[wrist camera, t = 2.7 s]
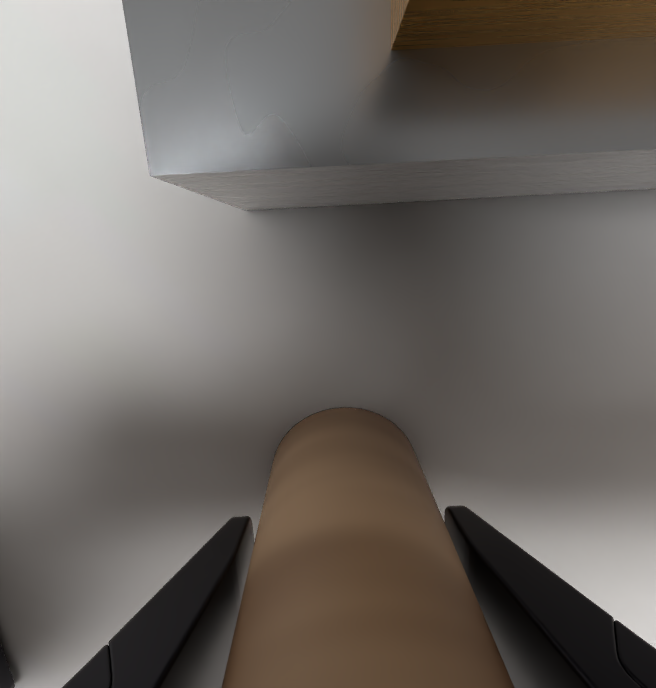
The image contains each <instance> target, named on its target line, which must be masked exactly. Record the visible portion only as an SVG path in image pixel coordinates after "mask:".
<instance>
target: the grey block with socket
mask: <svg viewBox="0 0 656 688" xmlns="http://www.w3.org/2000/svg"><path fill="white" fill-rule="evenodd" d="M122 3H123V9H124V15H125V22H126V28H127V34H128V41H129V47H130V53H131V60H132V66H133V72H134V78H135V85H136V91H137V97H138V104H139V110H140V116H141V123H142V129H143V135H144V142H145V148H146V154H147V161H148V167H149V173H150V176H152V177H154V178H157V179H160V180H163V181H165V182H168V183H171V184H174V185H176V186H179V187H182V188H185V189H188V190H190V191H193V192H196V193H199V194H201V195H204V196H207V197H210V198H212V199H215V200H218V201H221V202H223V203H226V204H229V205H232V206H234V207H237V208H240V209H243V210H262V209H281V208H300V207H319V206H338V205H357V204H376V203H395V202H415V201H434V200H453V199H472V198H491V197H510V196H529V195H548V194H567V193H586V192H605V191H624V190H644V189H656V0H122Z"/></svg>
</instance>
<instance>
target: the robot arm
mask: <svg viewBox="0 0 656 688" xmlns="http://www.w3.org/2000/svg"><path fill="white" fill-rule="evenodd" d="M444 523H445V525H446V528H447V530H448V532H449V535H450V537H451V539H452V542H453V544H454V546H455V549H456V551H457V554H458V556H459V558H460V561H461V563H462V565H463V568H464V570H465V572H466V575H467V577H468V579H469V582H470V584H471V586H472V589H473V591H474V594H475V596H476V598H477V601H478V603H479V605H480V608H481V610H482V612H483V615H484V617H485V619H486V622H487V624H488V626H489V629H490V631H491V634H492V636H493V638H494V641H495V643H496V645H497V648H498V650H499V652H500V655H501V657H502V659H503V662H504V664H505V666H506V669H507V671H508V674H509V676H510V678H511V681H512V683H513V685H514V688H656V649H655V648H654V647H653V646H651V645H650V644H649V643H647V642H646V641H644V640H643V639H642V638H640V637H639V636H638V635H636V634H635V633H634V632H632V631H631V630H630V629H628V628H627V627H626V626H624V625H623V624H622V623H620V622H619V621H617V620H615V621H614V619H613V617H612V616H611V615H609V614H608V613H607V612H605V611H604V610H603V609H601V608H600V607H599V606H597V605H596V604H595V603H593V602H592V601H591V600H589V599H588V598H587V597H585V596H584V595H583V594H581V593H580V592H579V591H577V590H576V589H575V588H573V587H572V586H571V585H569V584H568V583H567V582H565V581H564V580H563V579H561V578H560V577H559V576H557V575H556V574H555V573H553V572H552V571H551V570H549V569H548V568H547V567H545V566H544V565H543V564H541V563H540V562H539V561H537V560H536V559H535V558H533V557H532V556H531V555H529V554H528V553H527V552H525V551H524V550H523V549H521V548H520V547H519V546H517V545H516V544H515V543H513V542H512V541H511V540H509V539H508V538H507V537H505V536H504V535H503V534H502V533H500V532H499V531H498V530H496V529H495V528H494V527H492V526H491V525H490V524H488V523H487V522H486V521H484V520H483V519H482V518H480V517H479V516H478V515H476V514H475V513H474V512H472V511H471V510H470V509H468V508H467V507H465V506H448V507H447V508H446V510H445V522H444ZM253 547H254V535H253V527H252V520H251V518H250V517H249V516H242V517H233V518H231V519H230V520H229V521H228V522H227V523H226V524H225V525H224V526H223V527H222V528H221V529H220V530H219V531H218V532H217V533H216V534H215V535H214V536H213V537H212V538H211V539H210V540H209V541H208V542H207V543H206V544H205V545H204V546H203V547H202V548H201V549H200V550H199V551H198V552H197V553H196V554H195V555H194V556H193V557H192V558H191V559H190V560H189V561H188V562H187V563H186V564H185V565H184V566H183V567H182V568H181V569H180V570H179V571H178V572H177V573H176V574H175V575H174V576H173V577H172V578H171V579H170V580H169V581H168V582H167V583H166V584H165V585H164V586H163V587H162V588H161V589H160V590H159V591H158V592H157V594H156V595H155V596H154V597H153V598H152V599H151V600H150V601H149V602H148V603H147V604H146V605H145V606H144V607H143V608H142V609H141V610H140V611H139V612H138V613H137V614H136V615H135V616H134V617H133V618H132V619H131V620H130V621H129V622H128V623H127V624H126V625H125V626H124V627H123V628H122V629H121V630H120V631H119V632H118V633H117V634H116V635H115V636H114V637H113V638H112V639H111V640H110V641H109V646H108V645H105V646H104V647H103V648H102V649H101V650H100V651H99V652H98V653H97V654H96V655H95V656H94V657H93V658H92V659H91V660H90V661H89V662H88V663H87V664H86V665H85V666H84V667H83V668H82V669H81V670H80V671H79V672H78V673H77V674H76V675H75V676H74V677H73V678H72V679H71V680H70V681H68V682H67V683H66V684H65V685H64V686H63V687H62V688H222V683H223V679H224V675H225V670H226V666H227V661H228V657H229V653H230V648H231V644H232V639H233V635H234V631H235V626H236V622H237V618H238V613H239V609H240V604H241V600H242V596H243V591H244V587H245V582H246V578H247V574H248V569H249V565H250V560H251V556H252V552H253ZM14 687H15V685H14V680H13V677H12V674H11V671H10V669H9V666H8V663H7V660H6V657H5V655H4V652H3V649H2V646H1V643H0V688H14Z"/></svg>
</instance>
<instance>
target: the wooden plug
mask: <svg viewBox="0 0 656 688" xmlns="http://www.w3.org/2000/svg"><path fill="white" fill-rule="evenodd" d="M222 688H514V685H513V683H512V681H511V678H510V676H509V674H508V671H507V669H506V666H505V664H504V662H503V659H502V657H501V655H500V652H499V650H498V648H497V645H496V643H495V641H494V638H493V636H492V634H491V631H490V629H489V626H488V624H487V622H486V619H485V617H484V615H483V612H482V610H481V608H480V605H479V603H478V601H477V598H476V596H475V594H474V591H473V589H472V586H471V584H470V582H469V579H468V577H467V575H466V572H465V570H464V568H463V565H462V563H461V561H460V558H459V556H458V554H457V551H456V549H455V546H454V544H453V542H452V539H451V537H450V535H449V532H448V530H447V528H446V525H445V523H444V521H443V518H442V516H441V514H440V511H439V509H438V506H437V504H436V502H435V499H434V497H433V495H432V492H431V490H430V488H429V485H428V483H427V481H426V478H425V476H424V474H423V471H422V469H421V466H420V464H419V462H418V459H417V457H416V455H415V452H414V450H413V448H412V446H411V444H410V442H409V440H408V438H407V437H406V436H405V434H404V433H403V432H402V431H401V430H400V429H399V428H398V427H397V426H396V425H395V424H394V423H392V422H391V421H389V420H388V419H386V418H385V417H383V416H381V415H379V414H376V413H374V412H371V411H367V410H364V409H358V408H333V409H328V410H324V411H321V412H318V413H315V414H313V415H311V416H309V417H307V418H305V419H303V420H302V421H300V422H299V423H298V424H296V425H295V426H294V427H293V428H292V429H291V430H290V431H289V432H288V433H287V434H286V435H285V437H284V438H283V439H282V441H281V443H280V444H279V446H278V448H277V451H276V453H275V456H274V460H273V464H272V468H271V473H270V477H269V481H268V486H267V490H266V495H265V499H264V503H263V508H262V512H261V517H260V521H259V525H258V530H257V534H256V538H255V543H254V547H253V552H252V556H251V560H250V565H249V569H248V574H247V578H246V582H245V587H244V591H243V596H242V600H241V604H240V609H239V613H238V618H237V622H236V626H235V631H234V635H233V639H232V644H231V648H230V653H229V657H228V661H227V666H226V670H225V675H224V679H223V683H222Z"/></svg>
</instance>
